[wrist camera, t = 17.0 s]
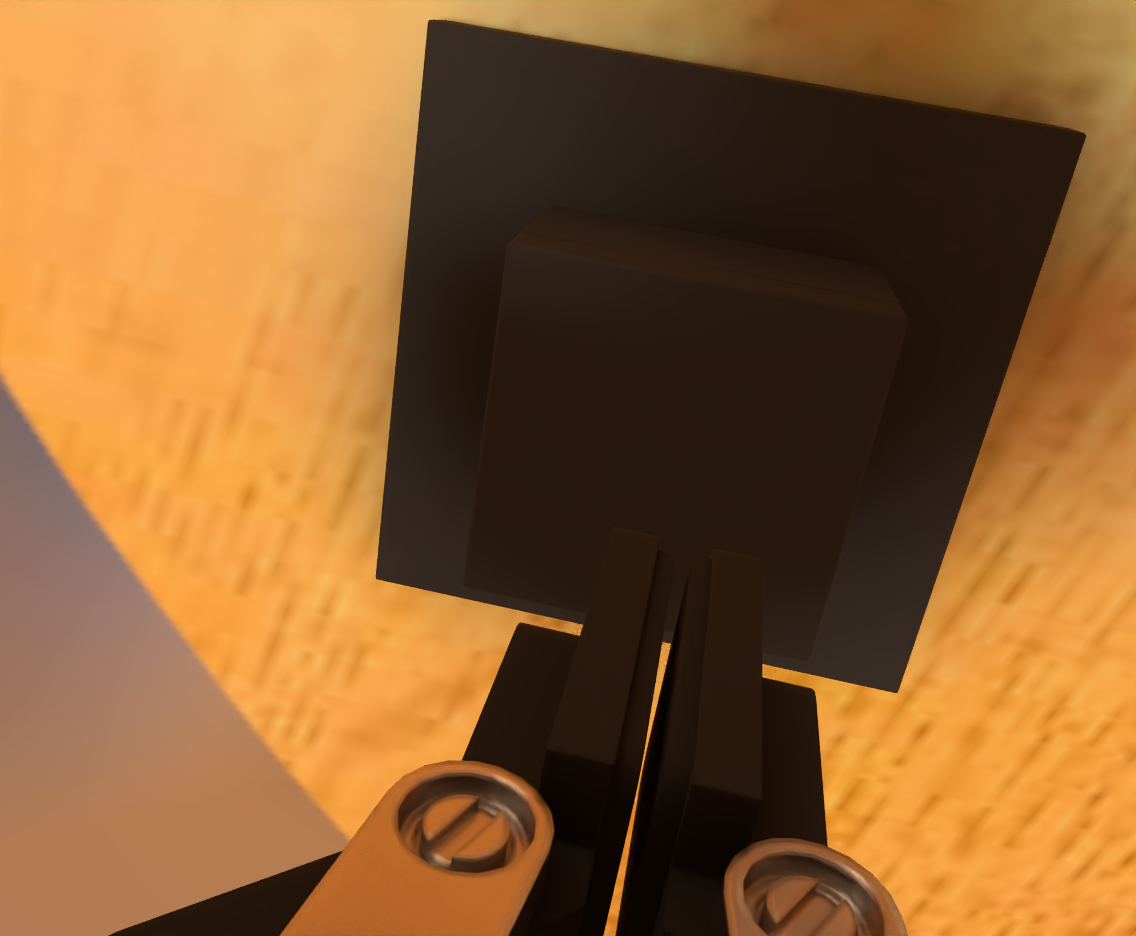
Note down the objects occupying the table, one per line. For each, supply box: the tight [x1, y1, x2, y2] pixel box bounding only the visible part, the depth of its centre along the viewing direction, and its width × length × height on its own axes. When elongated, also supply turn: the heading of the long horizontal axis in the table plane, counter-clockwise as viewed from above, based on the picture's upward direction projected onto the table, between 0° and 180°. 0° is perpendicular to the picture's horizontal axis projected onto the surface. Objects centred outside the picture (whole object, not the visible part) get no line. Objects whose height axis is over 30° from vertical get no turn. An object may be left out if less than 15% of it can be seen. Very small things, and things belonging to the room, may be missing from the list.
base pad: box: [376, 20, 1086, 693], centre depth 21 cm, size 12×12×3 cm
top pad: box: [463, 206, 909, 661], centre depth 20 cm, size 6×6×4 cm
